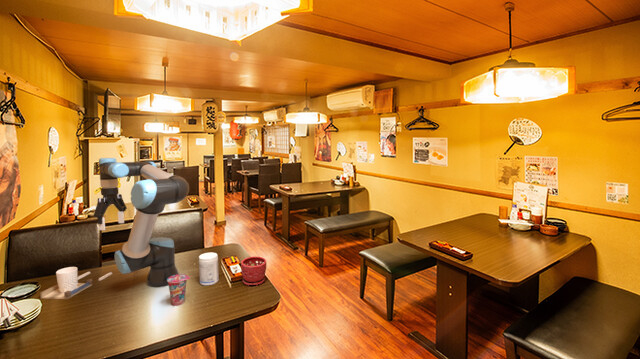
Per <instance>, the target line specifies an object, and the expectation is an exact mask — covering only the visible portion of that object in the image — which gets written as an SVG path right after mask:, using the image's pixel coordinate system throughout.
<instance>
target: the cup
mask: <svg viewBox="0 0 640 359" xmlns="http://www.w3.org/2000/svg"><path fill="white" fill-rule="evenodd" d="M190 279H191V277H190V276H189V275H187V274H183V273H179V274H177V275H173V276H171V277H169V278H168V279H167V281H168V285H167V286H168V290H169V295H170V299H171V300H170V301H171V305H172V306H173V307H177V306H178V307H179V306H181V305H183V304H184V303H185V302H186V301H185V300H186V292H187V291H186V290H187V281H188V280H190Z"/></svg>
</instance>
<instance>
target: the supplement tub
mask: <svg viewBox="0 0 640 359" xmlns="http://www.w3.org/2000/svg"><path fill="white" fill-rule="evenodd" d="M198 272H199V276H198V277H199V284H200V285H202V286H211V285H212V286H213V285H215V284H216V283H218V282H219V279H220V278H219V256H218V253H216V252H211V251H210V252H205V253H202V254H200V255H199V256H198Z"/></svg>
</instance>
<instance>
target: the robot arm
mask: <svg viewBox="0 0 640 359" xmlns="http://www.w3.org/2000/svg"><path fill="white" fill-rule="evenodd" d="M98 170H99V180H100V181H99V183H100V194H101V196H102V197H98V198H97V204H96V207H95V210H94V214H93V218H95V219H97V224H98V231H106V223H105V220H106V219H105V217H104V216H105V213H106V211H107V209H108V208H109V207H110V206H112V205H113V206H114V207H115V208H116V209H117V210H118V211H117V219H118V222H117V223H118V224H125V212H126V211H127V209H128V208H127V205H126V204H125V201H124V198H123V196H122V195H123V194H121V193H119V187H118V186H119V178H120V179H121V178H129V177H139V176H140V177H143V178H144V180H139V181H136V182H135V183H134V184H133V186H132V188H131V191H130V202H131V204H132V206H133V207H134V208H135V209H136V212H135V215H134V219H133V221H132V226H131V229H130V233H129V237H128V240H127V241H126V242H125V243H124V244H123V245H122V248H121V249H119V250H116V251H115V252H114V260H115V264H116V267H117V270H118V271H119V272H120V273H121V274H122V275H126V274H132V273H134V272H136V271H139V270H143V269H146V268H149V271H148V275H147V278H146V285H148V286H149V287H151V288H152V287H153V288H160V287H166V286H169V285H168V281H167V279H168V278H169V277H171V276H173V275H177V274H180V272H179V271H178V268H177V266H176V260H175V259H176V257H175V255H176V254H175V248H176V247H175V243H174V239H172V238H170V237H165V236H164V237H162V236H160V237H153V238H151V237H152V234H153V232H154V229H155V226H156V222H157V219H158V217H159V214H161V213H162V212H163V211H164V210H165V207H166V206H167V205H171V204H177V203H180V202H182V201H183V200H185V199H186V198H187V196H188V195H189V192H190V185H189V182H188V181H187V180H186V179H185V178H184V177H182V176H180V175H176V174H175V175H174V174H171V173H168V172H167V171H164V170H162V169H160V168H158V167H157V164H156V163H155V162H154V161H148V160H146V161H127V162H126V161H124V162H122V161H121V162H118V160H117V159H116V158H115V157H102V158H99V159H98Z"/></svg>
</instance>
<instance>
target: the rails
mask: <svg viewBox="0 0 640 359" xmlns="http://www.w3.org/2000/svg"><path fill="white" fill-rule="evenodd" d="M90 274H91V271H87V272H85V273H83V274H81V275H78V281H79V280H80V279H83V278H85V277H87V276H88V275H90ZM111 275H113V272H112V271H110V272H108V273H106V274H104V275H103V276H100V277H99V278H98V281H99V282H100V281H102V280H105V279H106V278H108V277H110V276H111Z"/></svg>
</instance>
